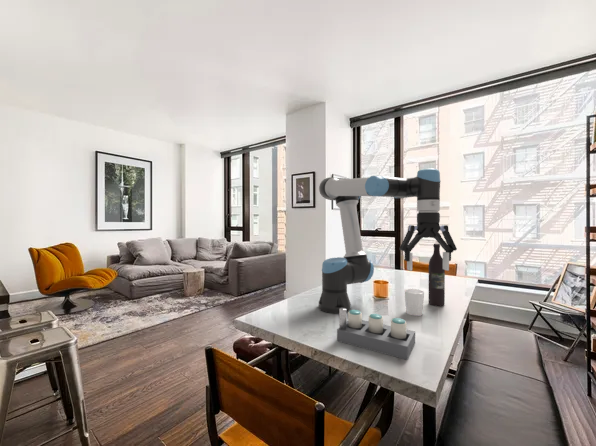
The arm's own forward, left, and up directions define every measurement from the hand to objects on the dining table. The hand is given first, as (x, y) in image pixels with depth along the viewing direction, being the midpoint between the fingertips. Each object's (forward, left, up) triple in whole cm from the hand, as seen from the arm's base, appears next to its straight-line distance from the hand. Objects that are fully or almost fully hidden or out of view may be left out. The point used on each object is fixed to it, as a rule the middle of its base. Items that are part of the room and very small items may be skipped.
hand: (427, 270), depth 97 cm
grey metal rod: (-24, -22, -20) cm, 38 cm away
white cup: (-8, +20, -24) cm, 32 cm away
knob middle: (-14, -17, -20) cm, 29 cm away
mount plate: (-14, -17, -24) cm, 32 cm away
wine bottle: (-1, +39, -24) cm, 46 cm away
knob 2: (-6, -17, -20) cm, 26 cm away
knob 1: (-21, -17, -20) cm, 33 cm away
